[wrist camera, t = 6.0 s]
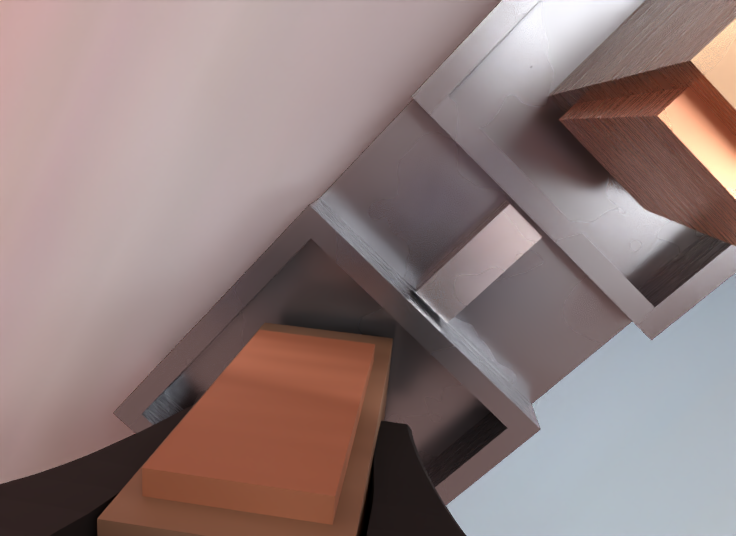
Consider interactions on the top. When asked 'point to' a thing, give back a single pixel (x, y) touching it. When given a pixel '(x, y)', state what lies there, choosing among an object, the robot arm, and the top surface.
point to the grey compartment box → (506, 223)
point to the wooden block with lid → (268, 444)
